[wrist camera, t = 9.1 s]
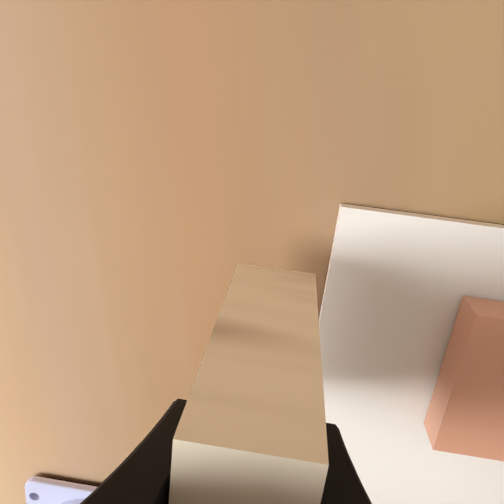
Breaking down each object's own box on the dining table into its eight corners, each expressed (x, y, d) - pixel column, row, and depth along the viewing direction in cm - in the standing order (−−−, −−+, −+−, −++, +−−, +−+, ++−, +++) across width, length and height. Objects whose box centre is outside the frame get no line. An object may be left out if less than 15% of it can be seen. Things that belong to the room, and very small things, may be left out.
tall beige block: (289, 424, 17) (278, 696, 9) (221, 414, 17) (157, 672, 9) (315, 273, 15) (329, 465, 7) (238, 262, 15) (172, 438, 7)
